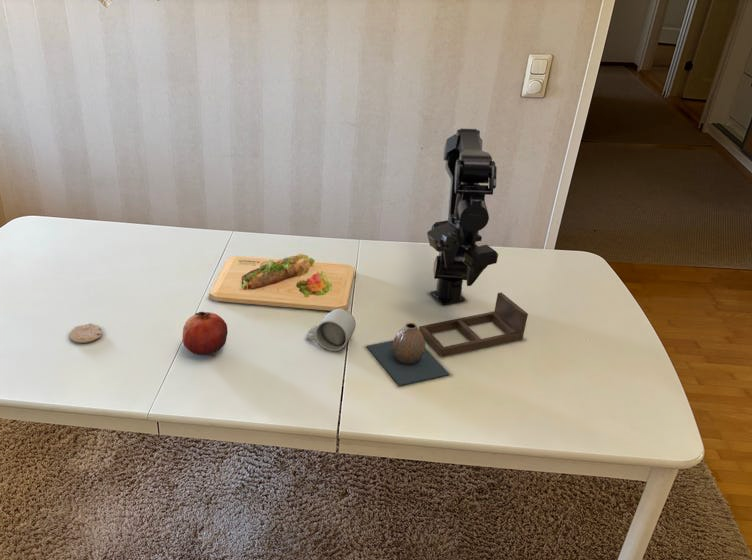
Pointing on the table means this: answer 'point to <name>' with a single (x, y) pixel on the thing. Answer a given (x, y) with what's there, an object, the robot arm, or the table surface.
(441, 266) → the robot arm
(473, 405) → the table surface
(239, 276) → the cutting board
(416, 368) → the mat
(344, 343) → the ceramic mug
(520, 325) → the cup stand
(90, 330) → the flatbread
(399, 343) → the vase
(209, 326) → the fruit
